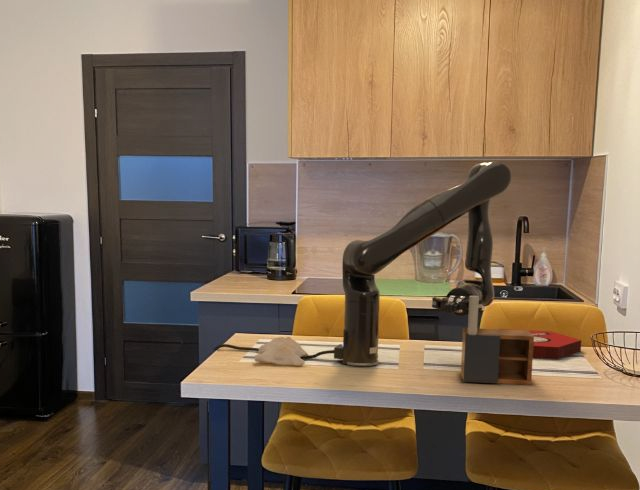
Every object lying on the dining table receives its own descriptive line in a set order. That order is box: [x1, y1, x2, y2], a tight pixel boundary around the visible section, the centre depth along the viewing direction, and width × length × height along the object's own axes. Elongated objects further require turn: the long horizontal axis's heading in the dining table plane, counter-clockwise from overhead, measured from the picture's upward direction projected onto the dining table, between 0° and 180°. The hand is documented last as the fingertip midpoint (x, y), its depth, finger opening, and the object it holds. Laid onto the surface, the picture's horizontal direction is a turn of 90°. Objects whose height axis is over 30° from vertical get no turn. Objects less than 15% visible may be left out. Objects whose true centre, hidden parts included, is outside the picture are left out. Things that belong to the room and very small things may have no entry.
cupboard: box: [460, 327, 534, 386], centre depth 183 cm, size 16×8×12 cm, turn 81°
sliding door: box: [462, 296, 500, 384], centre depth 178 cm, size 8×2×21 cm, turn 81°
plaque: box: [504, 328, 582, 361], centre depth 221 cm, size 27×4×30 cm
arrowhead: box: [254, 336, 309, 367], centre depth 210 cm, size 14×5×30 cm
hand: (449, 308), depth 176 cm, fingers closed
